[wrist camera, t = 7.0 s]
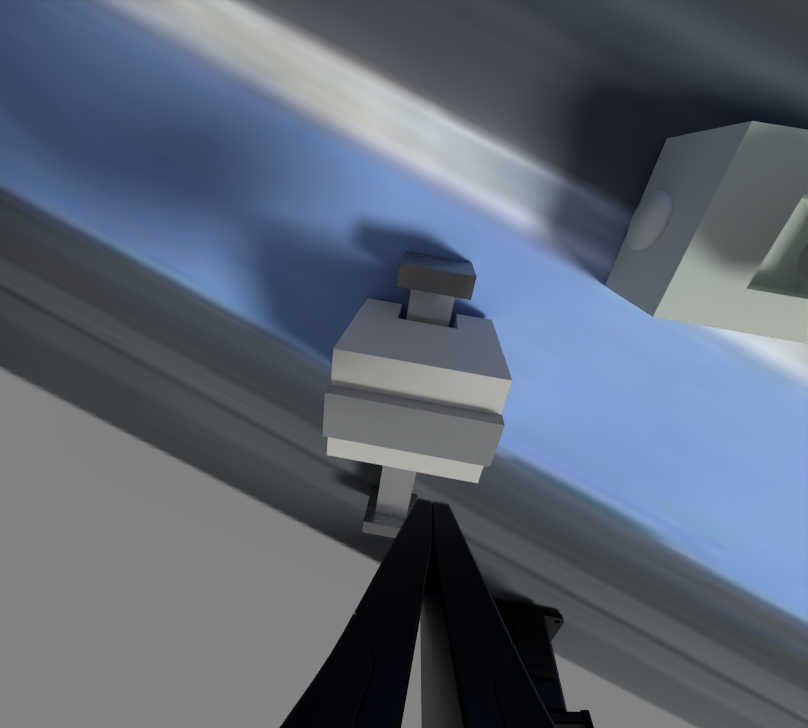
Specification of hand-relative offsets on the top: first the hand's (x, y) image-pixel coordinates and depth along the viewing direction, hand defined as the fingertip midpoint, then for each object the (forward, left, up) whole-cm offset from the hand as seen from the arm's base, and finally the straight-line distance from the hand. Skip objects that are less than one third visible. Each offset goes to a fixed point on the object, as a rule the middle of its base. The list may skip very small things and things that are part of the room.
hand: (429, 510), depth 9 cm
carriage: (-1, +1, -11) cm, 11 cm away
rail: (-4, +1, -11) cm, 12 cm away
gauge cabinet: (+7, -11, -11) cm, 17 cm away
